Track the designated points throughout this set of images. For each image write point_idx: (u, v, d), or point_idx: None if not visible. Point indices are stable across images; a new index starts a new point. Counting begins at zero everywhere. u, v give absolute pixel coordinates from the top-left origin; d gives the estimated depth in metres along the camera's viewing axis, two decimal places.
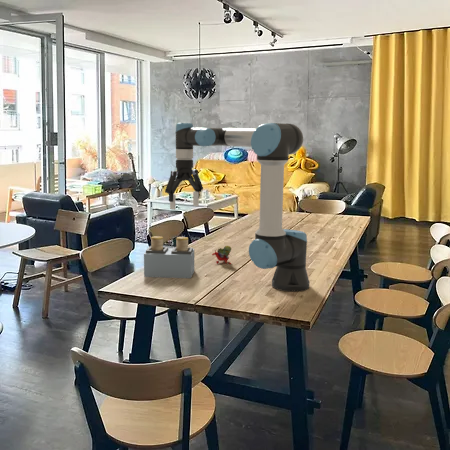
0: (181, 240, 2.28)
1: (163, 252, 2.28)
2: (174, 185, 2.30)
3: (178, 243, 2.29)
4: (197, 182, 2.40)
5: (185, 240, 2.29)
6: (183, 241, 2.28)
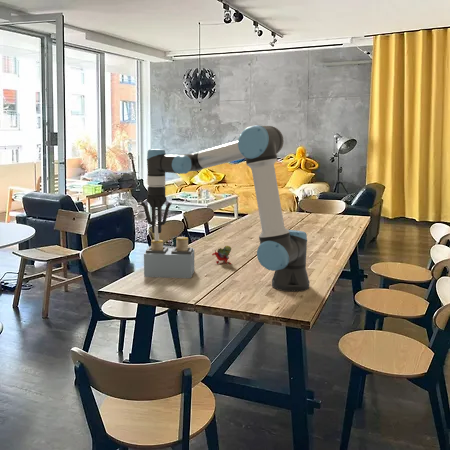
0: (181, 240, 2.28)
1: (163, 252, 2.28)
2: (152, 216, 2.30)
3: (178, 243, 2.29)
4: (164, 214, 2.29)
5: (185, 240, 2.29)
6: (183, 241, 2.28)
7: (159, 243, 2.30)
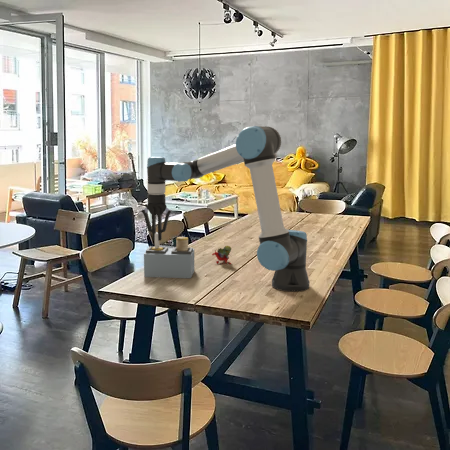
0: (181, 240, 2.28)
1: (163, 252, 2.28)
2: (152, 223, 2.30)
3: (178, 243, 2.29)
4: (164, 222, 2.30)
5: (185, 240, 2.29)
6: (183, 241, 2.28)
7: (159, 250, 2.30)
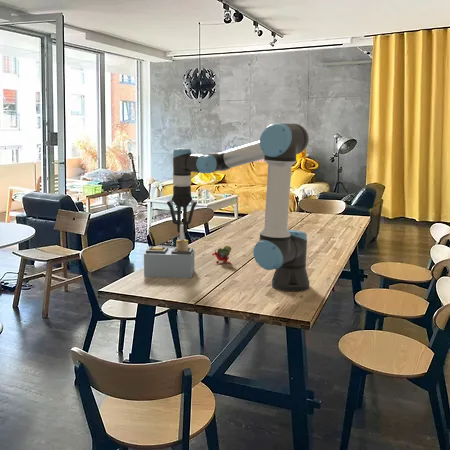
0: (181, 242, 2.28)
1: (163, 252, 2.28)
2: None
3: (178, 245, 2.29)
4: (189, 214, 2.28)
5: (185, 242, 2.29)
6: (183, 244, 2.29)
7: (159, 250, 2.30)
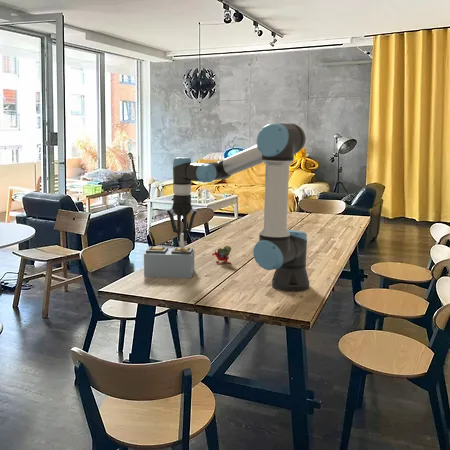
0: None
1: (163, 252, 2.28)
2: None
3: None
4: (189, 223, 2.29)
5: None
6: None
7: (159, 250, 2.30)
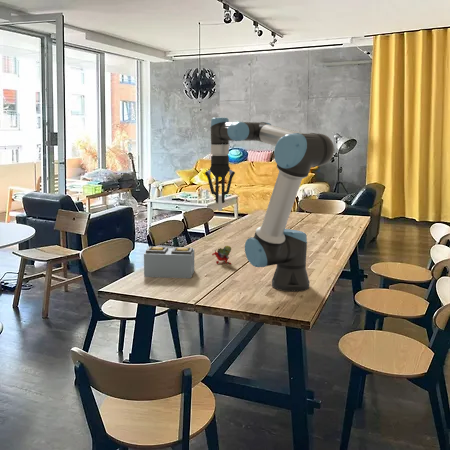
0: None
1: (163, 252, 2.28)
2: None
3: None
4: None
5: None
6: None
7: (159, 250, 2.30)
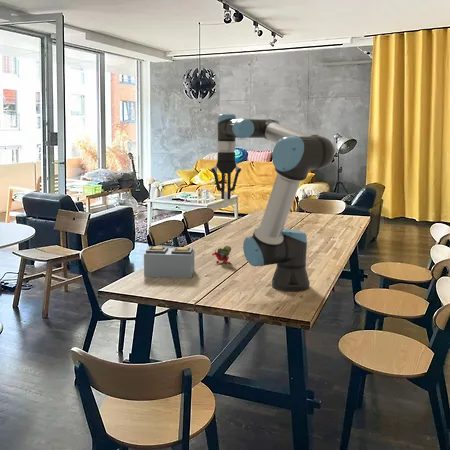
0: None
1: (163, 252, 2.28)
2: None
3: None
4: None
5: None
6: None
7: (159, 250, 2.30)
